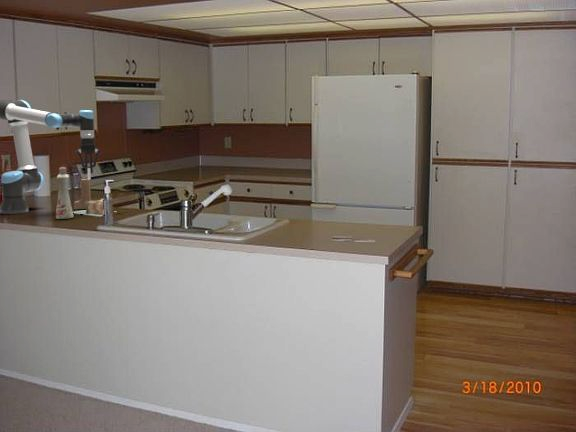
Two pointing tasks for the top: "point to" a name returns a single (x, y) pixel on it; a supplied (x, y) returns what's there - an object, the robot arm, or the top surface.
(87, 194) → the wooden block
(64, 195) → the bottle
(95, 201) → the fence panel
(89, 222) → the top surface
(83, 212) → the board
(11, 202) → the robot arm
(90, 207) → the fence fixed leg
